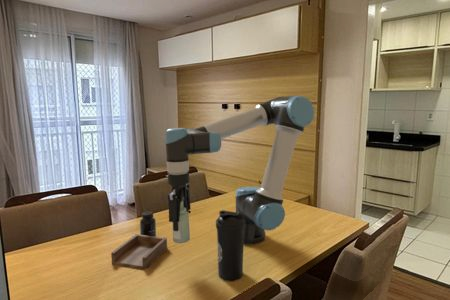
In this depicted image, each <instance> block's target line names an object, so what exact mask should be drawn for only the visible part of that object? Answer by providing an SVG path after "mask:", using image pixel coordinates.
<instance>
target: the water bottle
mask: <svg viewBox="0 0 450 300" xmlns="http://www.w3.org/2000/svg"><path fill="white" fill-rule="evenodd" d="M218 214H219V216H218V217H217V219H216V220H215V228H216V234H217V235H216V237H217V238H216V240H217V241H216V245H217V265H218V266H217V267H218V269H217V270H218V271H217V272H218V277H219V279H221V280H223V281H227V282H235V280H236V281H238V280H240V279H241V278H242V277H243V269H244V267H243V265H244V264H243V263H244V245H245V244H244V229H245V220H244V218H243V217H242V213H241V211H239V210H237V211H236V210H235V211H229V210H223V209H222V210H219V212H218Z"/></svg>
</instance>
